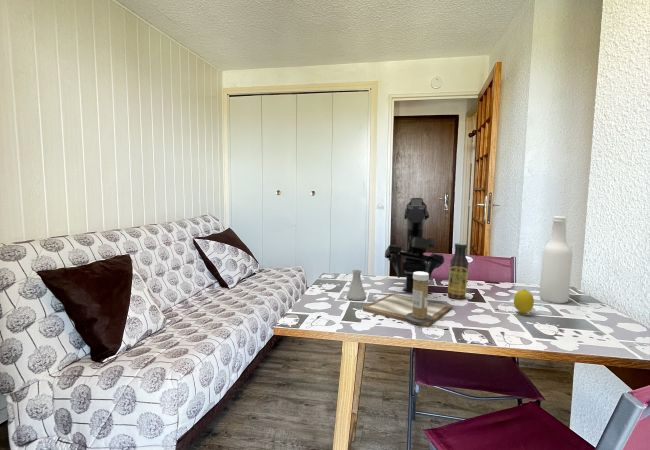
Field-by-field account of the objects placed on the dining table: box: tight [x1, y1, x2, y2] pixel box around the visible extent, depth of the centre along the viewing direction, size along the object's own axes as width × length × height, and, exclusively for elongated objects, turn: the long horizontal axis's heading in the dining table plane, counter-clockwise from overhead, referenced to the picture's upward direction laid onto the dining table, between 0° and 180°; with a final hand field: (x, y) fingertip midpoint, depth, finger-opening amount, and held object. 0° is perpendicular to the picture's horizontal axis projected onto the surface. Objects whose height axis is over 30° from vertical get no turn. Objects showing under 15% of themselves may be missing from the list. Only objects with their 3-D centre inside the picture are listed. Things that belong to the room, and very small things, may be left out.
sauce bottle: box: [447, 242, 469, 300], centre depth 129 cm, size 7×6×20 cm
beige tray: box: [362, 293, 453, 328], centre depth 116 cm, size 21×22×1 cm
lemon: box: [513, 288, 535, 315], centre depth 113 cm, size 6×6×8 cm
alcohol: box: [539, 215, 573, 305], centre depth 126 cm, size 9×9×30 cm
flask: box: [346, 269, 367, 301], centre depth 128 cm, size 7×7×10 cm
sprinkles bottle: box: [412, 271, 430, 319], centre depth 106 cm, size 5×5×14 cm
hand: (413, 280), depth 115 cm, fingers open, 9 cm apart
